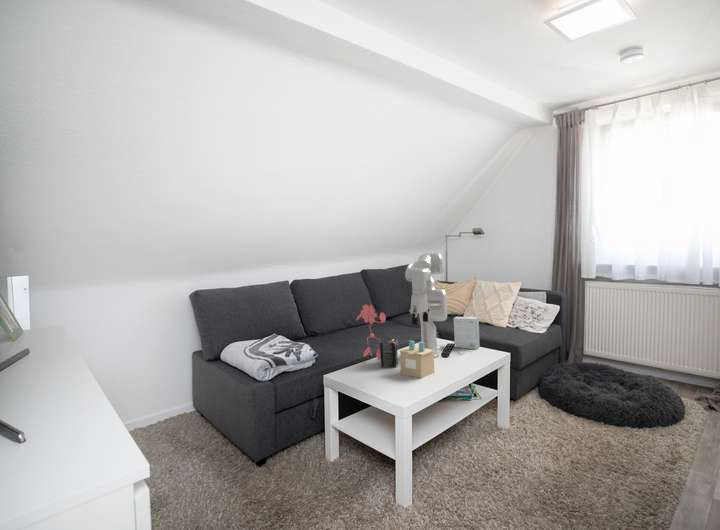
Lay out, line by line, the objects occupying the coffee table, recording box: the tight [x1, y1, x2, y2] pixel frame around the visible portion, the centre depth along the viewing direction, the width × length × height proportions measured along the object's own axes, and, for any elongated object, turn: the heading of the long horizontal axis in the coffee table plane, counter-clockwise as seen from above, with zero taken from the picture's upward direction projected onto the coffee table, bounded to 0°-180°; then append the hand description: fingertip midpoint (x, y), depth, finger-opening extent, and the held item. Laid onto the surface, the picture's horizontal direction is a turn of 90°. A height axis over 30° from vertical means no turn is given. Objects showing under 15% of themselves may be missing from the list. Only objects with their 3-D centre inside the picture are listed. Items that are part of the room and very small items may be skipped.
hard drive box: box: [453, 316, 481, 350], centre depth 278 cm, size 16×8×20 cm, turn 60°
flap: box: [413, 341, 434, 356], centre depth 224 cm, size 11×6×5 cm, turn 136°
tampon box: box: [379, 338, 399, 368], centre depth 245 cm, size 11×9×15 cm
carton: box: [399, 340, 435, 379], centre depth 228 cm, size 12×15×17 cm
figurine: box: [355, 303, 387, 364], centre depth 256 cm, size 15×26×35 cm, turn 46°
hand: (420, 323), depth 224 cm, fingers open, 9 cm apart
